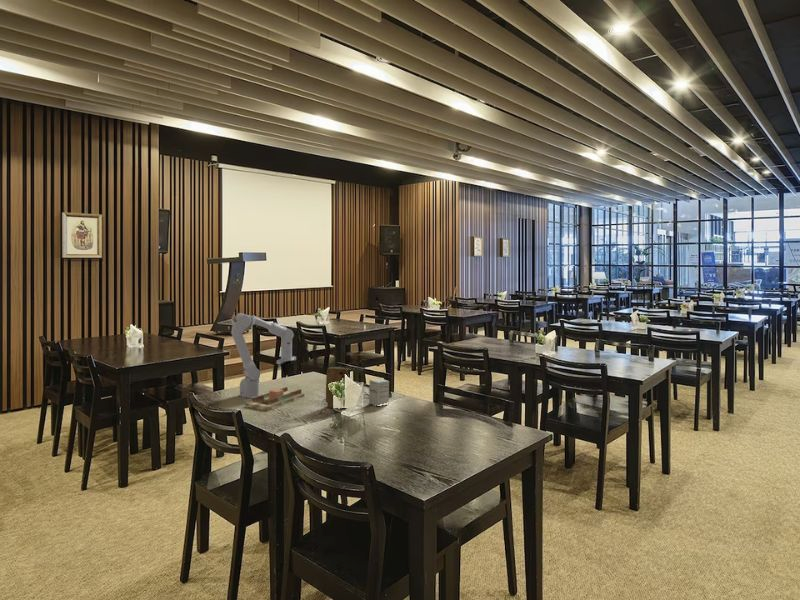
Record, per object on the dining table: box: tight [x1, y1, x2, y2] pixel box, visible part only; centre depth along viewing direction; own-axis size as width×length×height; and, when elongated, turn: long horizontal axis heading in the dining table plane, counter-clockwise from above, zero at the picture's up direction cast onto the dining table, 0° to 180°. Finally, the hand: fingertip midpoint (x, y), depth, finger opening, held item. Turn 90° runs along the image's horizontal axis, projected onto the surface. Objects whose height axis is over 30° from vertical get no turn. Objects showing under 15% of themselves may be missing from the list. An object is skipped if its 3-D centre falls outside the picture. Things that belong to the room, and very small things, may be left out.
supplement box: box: [368, 377, 390, 406], centre depth 258 cm, size 7×7×13 cm
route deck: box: [244, 386, 305, 412], centre depth 258 cm, size 14×29×4 cm, turn 155°
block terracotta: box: [268, 388, 284, 399], centre depth 258 cm, size 5×5×4 cm
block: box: [325, 366, 349, 410], centre depth 251 cm, size 11×8×20 cm
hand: (286, 375), depth 278 cm, fingers closed
